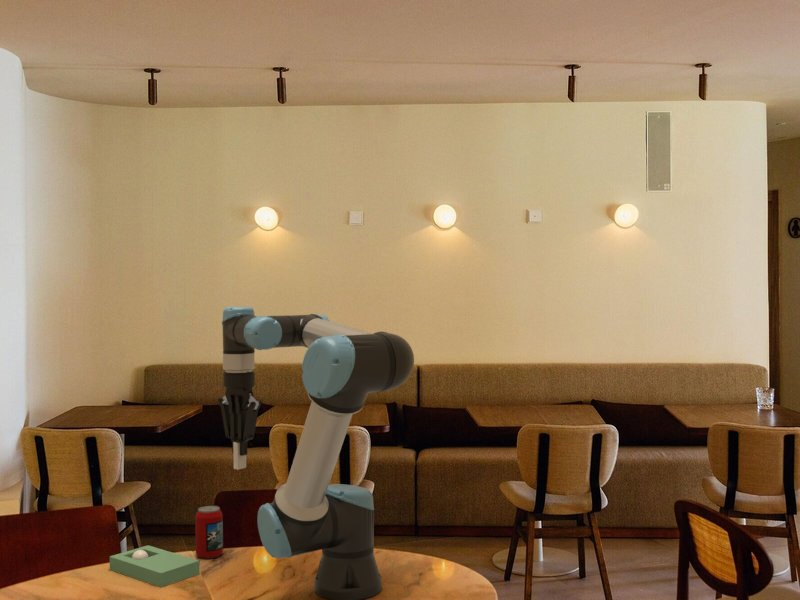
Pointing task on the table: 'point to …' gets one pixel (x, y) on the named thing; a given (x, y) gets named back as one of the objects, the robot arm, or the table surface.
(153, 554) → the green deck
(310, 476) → the robot arm
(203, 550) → the beverage can
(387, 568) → the table surface
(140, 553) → the ball
